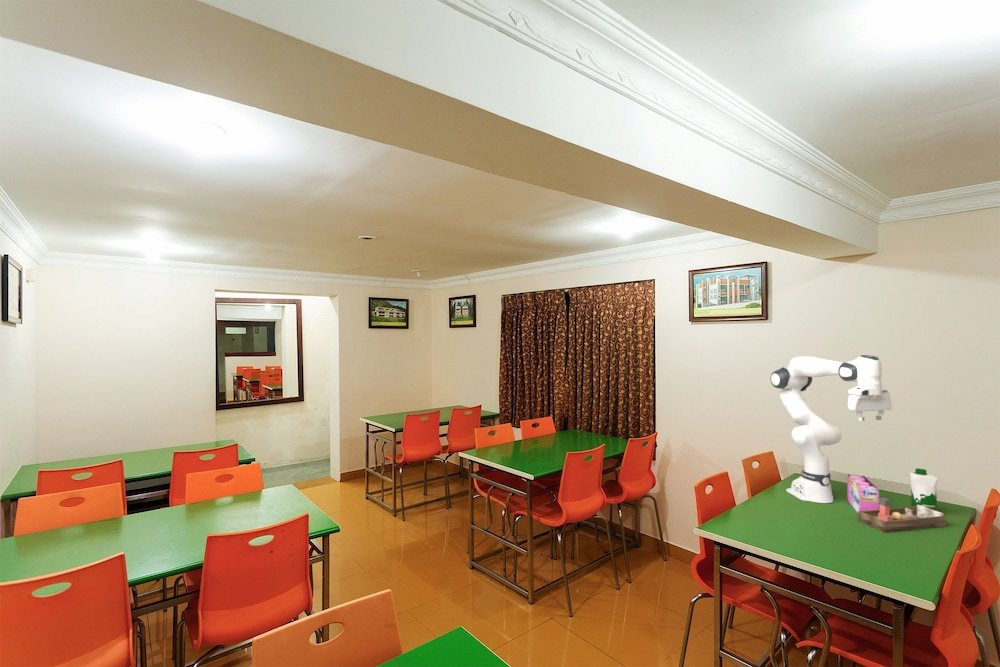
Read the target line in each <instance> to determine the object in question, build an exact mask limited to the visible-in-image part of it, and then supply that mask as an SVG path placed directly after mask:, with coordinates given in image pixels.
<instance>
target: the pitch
mask: <svg viewBox="0 0 1000 667" xmlns="http://www.w3.org/2000/svg"><path fill="white" fill-rule="evenodd" d="M893 512H898V513H900V514H901V515H902V518H901V519H900V520H895V519H894V518H893V517H892V513H893ZM878 513H880V509H879V510H869V511H858V512H857V514H858V518H857V519H858V522H860V523H862V524H864V525H866V524H867V525H866V526H869V527H871V528H874V529H876V530H878V531H881V532H883V533H895V532H905V531H913V530H914V531H916V530H917V531H918V530H925V529H937V528H946V527H947V516H945V514H944V513H943V512H940V511H938V510H937V511H935V510H932V509H929V508H926V507H923V506H920V505H917V506H914V507H911V506H904V507H903V506H902V507H894V508H893V507H891V508H890V516H891V521H883V520H880V519H878Z"/></svg>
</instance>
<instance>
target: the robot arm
mask: <svg viewBox="0 0 1000 667" xmlns="http://www.w3.org/2000/svg"><path fill="white" fill-rule="evenodd" d="M882 370H883V369H882V363H881V360H880V357H877V356H875V355H871V354H870V355H869V354H862V355H861V354H860V355H859V356H858V357H857V358H855V359H853V360H850V361H845V362H844V361H838V360H837V361H836V360H831V359H828V358H827V359H826V358H822V357H818V356H812V355H801V356H800V355H799V356H795V357H792V358H791V359H790V360H789V362H788V366H787V367H784V366H783V367H780V368H779V369H777V370H774V371H773V372H772V373H771V374H770V379H769V380H770V384H771V385H772V386H773V387H774V388H776V389H781V390H780V391H779V393H778V397H779V400H780V403H781V404H782V406H783V408H784V410H785V411H786V413H787V415H788V416H789V417H790V419H791V420H792V421H793V422H794V423H795V424H797V425H799V426H795V427H794V428H792V429H791V432H790V437H791V438H790V439H791V440H792V442H793V443H794V444H795V445H796V446H798V447H799V449H800V450H801V453H802V457H803V469H801V470H799V472H800V473H801V476H799V477H797V478H796V479H793V480H792V482H791V487H788V488H786V490H785V492H787V493H789V494H790V495H792V496H793V497H796V498H797V499H799V500H801V501H805V502H806V501H807V502H812V503H819V504H830V503H833V502H834V495H833V492H832V485H831V482H830V481H831V473H830V459H829V457H828V456H827V455H825V454H824V453H822V449H821V447H822V446H831V445H835V444H838V443H840V442H841V440H842V433H841V430H840V429H839V428H838V427H837V426H835V425H833V424H831V423H829V422H827V421H825V420H824V419H823V418H822V417H821V416H819V415H818V414H817V413H816V412H814V410H813V409H812V408H811V406H810V405H809V404H808V402H807V401H806V399H805V398H804V397H803V395H802V394H801V393H802V392H805V391H806V390H807V388H809V387H810V385H811V384H812V383H813V382H812V381H813V378H820V377H821V378H822V377H828V376H839V377H840V379H841V380H843V381H845V382H857V386H854V387H852V388H850V389H848V390H847V392H848V394H849V395H848V397H847V408H848V410H849V411H850V412H854V413H855V414H856V416H857V420H858V421H860V422H864V421H865V416H863V412H875V411H877V415H875V420H876V421H883V415H884V414H885V411H891V410H892V407H893V405H892V404H893V403H892V398H891V396H890V395H891V394H890V392H889V391H888V390H887V389H883V383H882V380H881V379H882V376H883V374H882V372H883V371H882Z"/></svg>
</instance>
